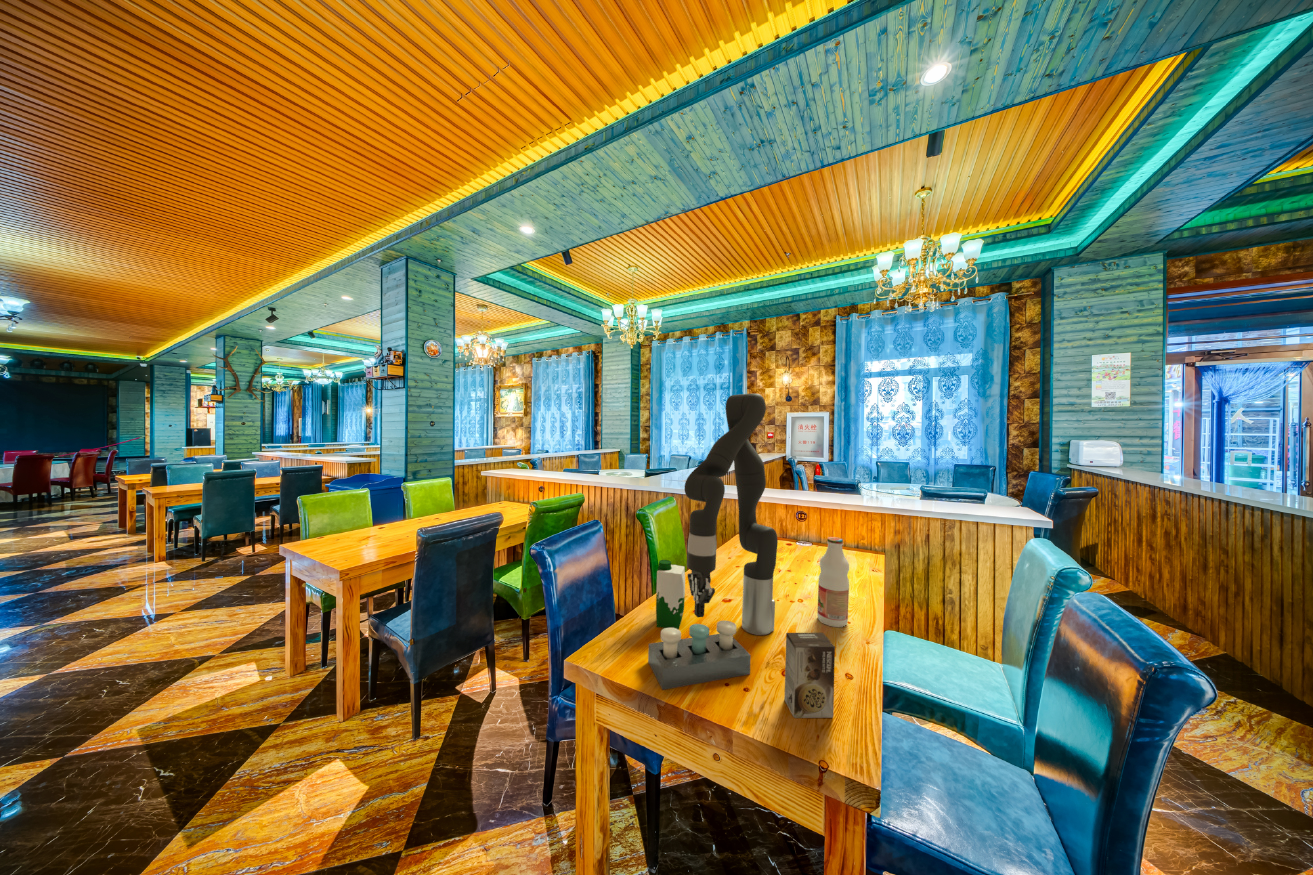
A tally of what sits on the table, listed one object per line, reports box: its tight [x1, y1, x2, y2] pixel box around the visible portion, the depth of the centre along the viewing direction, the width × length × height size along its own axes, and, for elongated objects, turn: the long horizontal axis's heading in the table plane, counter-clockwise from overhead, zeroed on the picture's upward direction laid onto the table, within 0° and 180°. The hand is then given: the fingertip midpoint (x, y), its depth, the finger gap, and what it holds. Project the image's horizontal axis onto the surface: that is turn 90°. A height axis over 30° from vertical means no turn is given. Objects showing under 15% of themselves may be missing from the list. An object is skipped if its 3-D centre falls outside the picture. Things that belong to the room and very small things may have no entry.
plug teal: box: [689, 623, 710, 655], centre depth 106 cm, size 5×5×6 cm
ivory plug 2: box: [716, 620, 737, 650], centre depth 108 cm, size 5×5×6 cm
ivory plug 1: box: [660, 628, 682, 659], centre depth 104 cm, size 5×5×6 cm
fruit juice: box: [817, 536, 850, 628], centre depth 135 cm, size 9×9×28 cm
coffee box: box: [784, 632, 836, 719], centre depth 92 cm, size 9×6×16 cm
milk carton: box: [655, 559, 686, 630], centre depth 130 cm, size 9×9×20 cm
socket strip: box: [647, 633, 752, 691], centre depth 106 cm, size 24×12×5 cm, turn 108°
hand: (699, 615), depth 106 cm, fingers closed
